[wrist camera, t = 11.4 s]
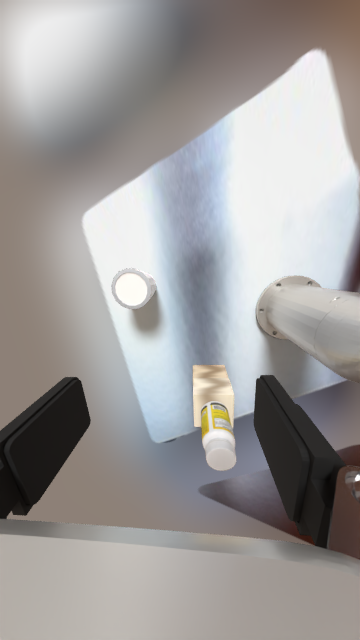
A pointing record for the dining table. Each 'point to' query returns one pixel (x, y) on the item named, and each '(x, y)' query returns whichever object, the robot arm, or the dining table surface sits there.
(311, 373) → the dining table surface
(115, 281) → the white cup
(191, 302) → the dining table surface
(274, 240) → the dining table surface
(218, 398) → the top block
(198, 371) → the bottom block
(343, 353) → the robot arm
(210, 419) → the supplement bottle
